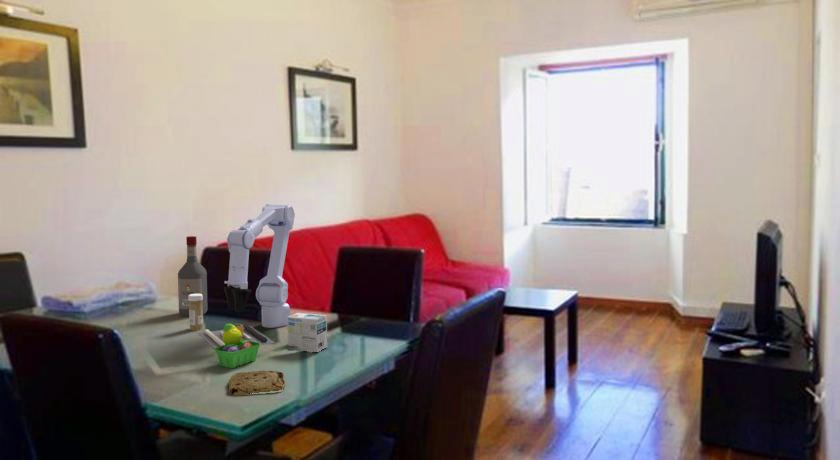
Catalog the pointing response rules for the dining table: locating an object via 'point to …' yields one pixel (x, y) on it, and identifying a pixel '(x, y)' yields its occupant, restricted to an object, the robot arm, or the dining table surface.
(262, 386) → the pastry
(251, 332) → the dark grey rounded rod
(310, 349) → the light bulb box
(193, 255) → the liquor
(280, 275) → the robot arm
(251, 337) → the panel
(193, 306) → the sprinkles bottle
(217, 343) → the white rounded rod
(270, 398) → the dining table surface
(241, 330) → the block
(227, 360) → the fruit basket
